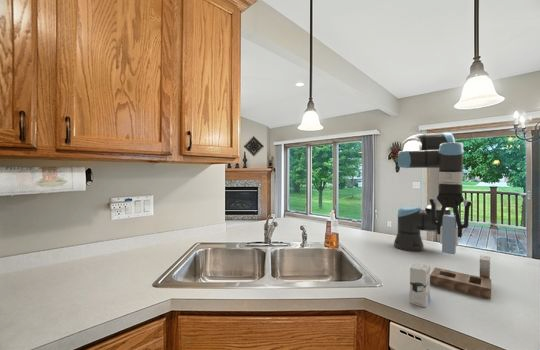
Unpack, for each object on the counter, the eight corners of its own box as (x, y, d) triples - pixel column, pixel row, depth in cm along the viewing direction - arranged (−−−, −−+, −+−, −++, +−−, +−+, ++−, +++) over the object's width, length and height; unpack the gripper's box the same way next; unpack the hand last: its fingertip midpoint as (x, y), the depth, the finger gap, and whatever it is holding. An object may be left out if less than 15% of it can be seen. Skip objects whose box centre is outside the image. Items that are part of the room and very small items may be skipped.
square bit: (441, 252, 101) (442, 215, 100) (443, 249, 104) (444, 214, 103) (454, 254, 98) (455, 217, 98) (455, 252, 101) (456, 215, 101)
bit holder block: (429, 284, 101) (430, 275, 101) (434, 275, 110) (435, 267, 110) (490, 299, 90) (490, 289, 90) (491, 288, 98) (491, 279, 98)
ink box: (414, 294, 93) (414, 260, 93) (430, 298, 90) (430, 264, 90) (408, 303, 87) (409, 267, 86) (425, 308, 83) (426, 271, 83)
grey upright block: (479, 284, 101) (479, 259, 101) (480, 279, 106) (480, 255, 106) (489, 287, 99) (490, 260, 99) (489, 281, 104) (490, 256, 104)
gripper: (422, 182, 103) (421, 242, 103) (478, 184, 92) (476, 251, 92) (426, 182, 109) (425, 238, 109) (479, 183, 97) (477, 246, 98)
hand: (449, 244), depth 101 cm, fingers closed on square bit, 4 cm apart
